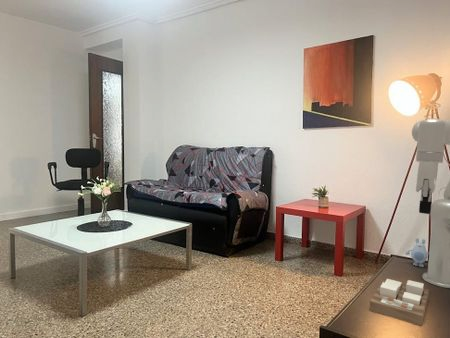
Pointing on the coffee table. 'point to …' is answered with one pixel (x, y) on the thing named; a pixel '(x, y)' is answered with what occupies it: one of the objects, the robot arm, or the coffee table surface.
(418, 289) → the button
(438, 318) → the coffee table surface
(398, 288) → the button
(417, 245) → the toy figure
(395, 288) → the button
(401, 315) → the button board
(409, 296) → the button
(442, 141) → the robot arm
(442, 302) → the coffee table surface
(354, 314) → the coffee table surface
